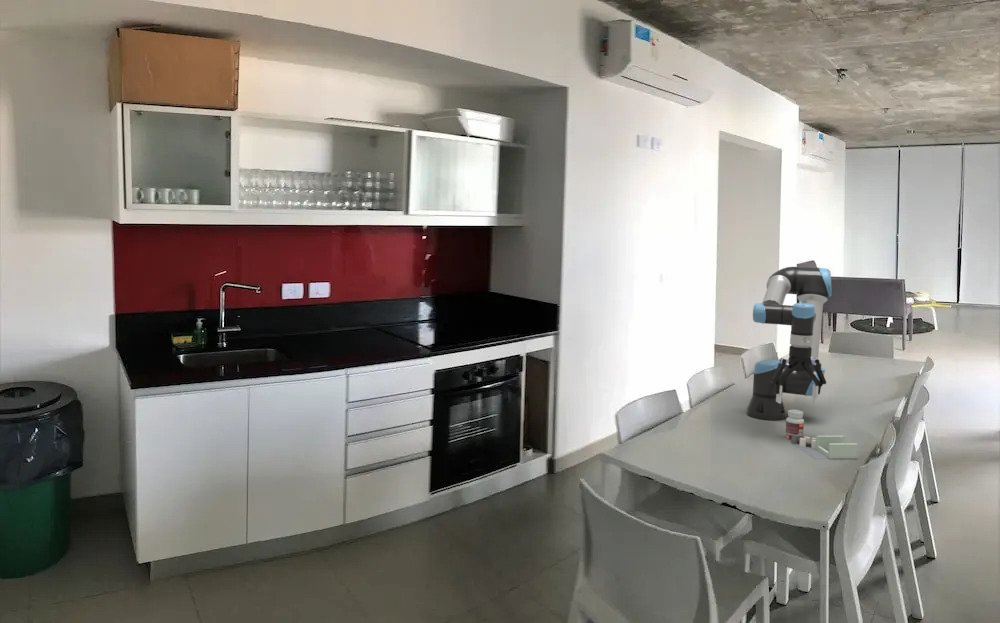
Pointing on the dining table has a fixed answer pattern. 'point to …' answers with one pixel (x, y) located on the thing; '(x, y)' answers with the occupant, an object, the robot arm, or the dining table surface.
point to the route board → (808, 446)
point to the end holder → (836, 447)
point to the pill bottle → (794, 423)
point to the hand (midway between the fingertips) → (796, 402)
